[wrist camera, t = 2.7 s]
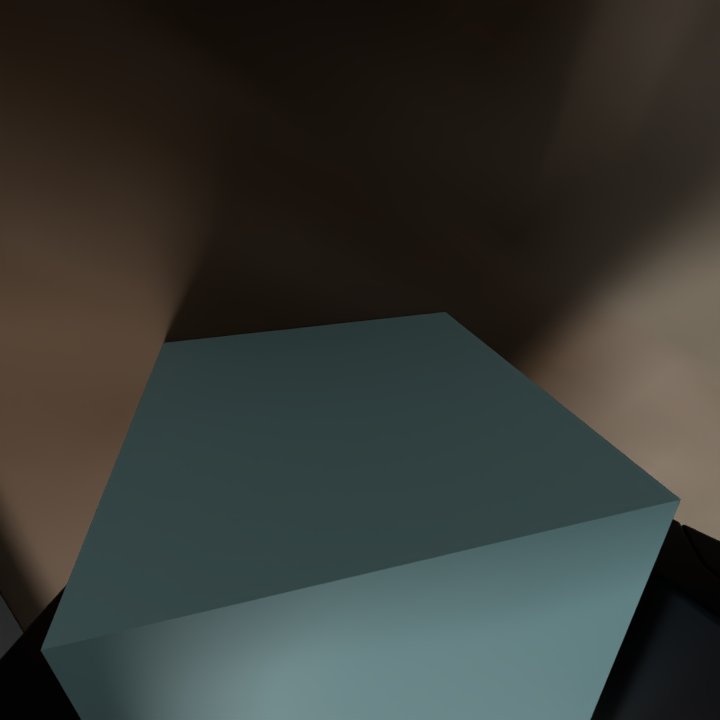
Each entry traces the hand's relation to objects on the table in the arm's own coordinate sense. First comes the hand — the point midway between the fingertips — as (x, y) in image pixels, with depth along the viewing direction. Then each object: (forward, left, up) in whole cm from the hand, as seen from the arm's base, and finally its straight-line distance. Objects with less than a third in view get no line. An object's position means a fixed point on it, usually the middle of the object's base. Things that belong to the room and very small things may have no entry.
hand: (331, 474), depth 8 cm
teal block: (0, 0, -1) cm, 1 cm away
